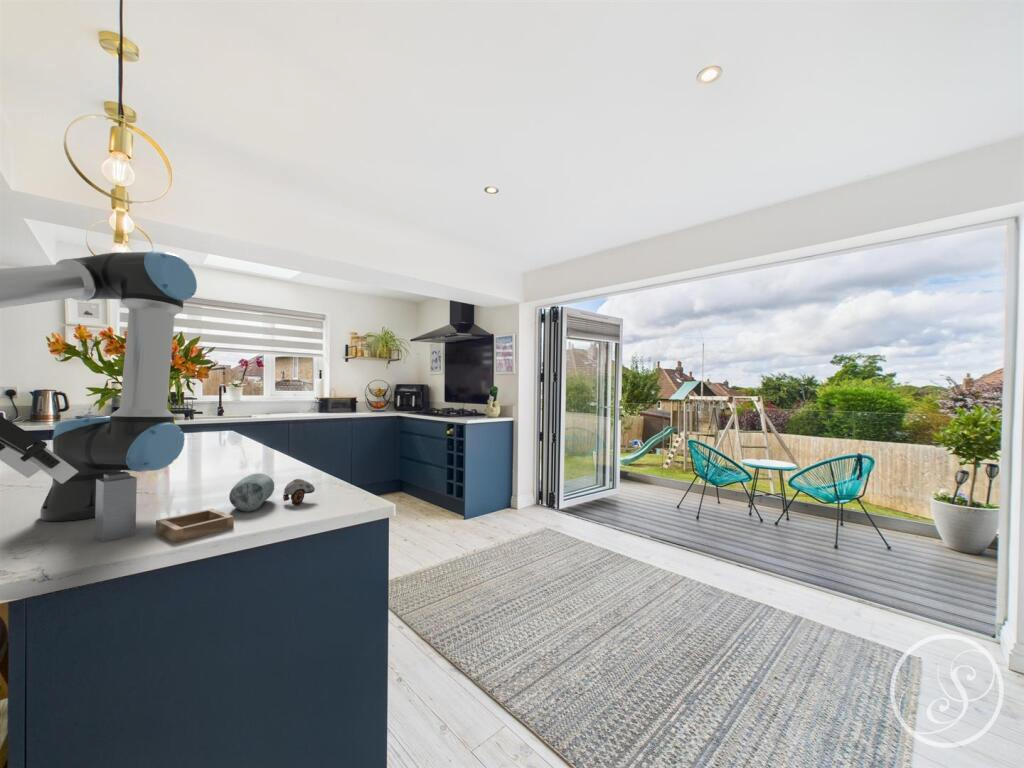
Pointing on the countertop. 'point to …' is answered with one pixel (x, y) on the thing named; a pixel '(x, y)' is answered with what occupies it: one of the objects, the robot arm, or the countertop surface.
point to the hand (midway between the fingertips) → (52, 474)
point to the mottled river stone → (251, 492)
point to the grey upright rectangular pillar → (115, 506)
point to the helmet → (297, 490)
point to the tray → (194, 525)
